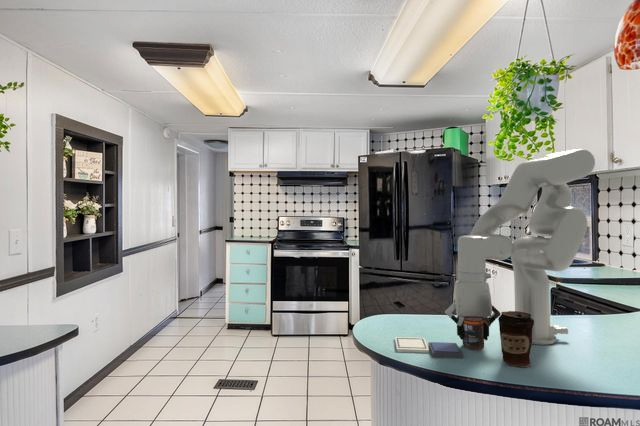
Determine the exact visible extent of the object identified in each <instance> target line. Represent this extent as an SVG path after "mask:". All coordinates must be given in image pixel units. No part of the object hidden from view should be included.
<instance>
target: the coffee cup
mask: <svg viewBox="0 0 640 426" xmlns="http://www.w3.org/2000/svg"><path fill="white" fill-rule="evenodd" d="M500 313H501V315H500V316H499V317H498V318H497V320H498V326H499V327H498V328H499V336H500V349H501V354H502V361H503V363H505V364H507V365H509V366H513V367H521V368H524V367H525V368H527V367H530V366H531V364H532V363H531V360H530V355H531V350H532V349H531V348H532V345H533V344H532V328H533V326H534V320H533V319H532V318H531V314H528V313H525V312H518V311H515V310H514V311H513V310H509V311H502V312H500Z"/></svg>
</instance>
